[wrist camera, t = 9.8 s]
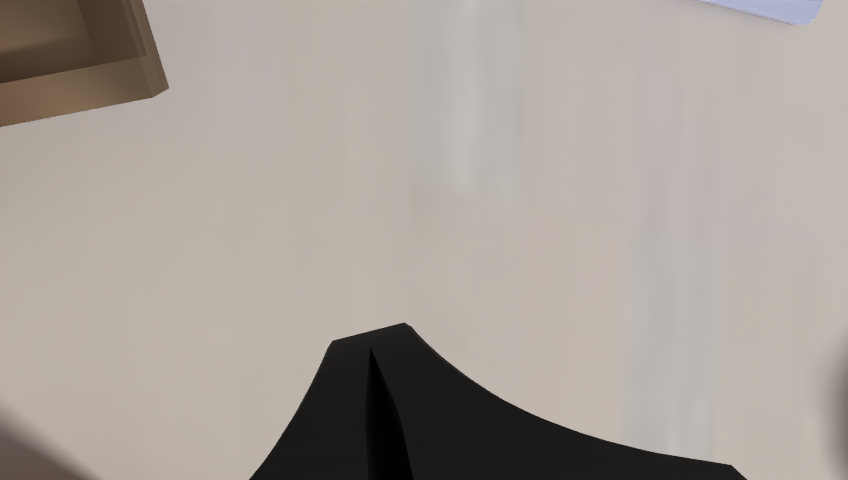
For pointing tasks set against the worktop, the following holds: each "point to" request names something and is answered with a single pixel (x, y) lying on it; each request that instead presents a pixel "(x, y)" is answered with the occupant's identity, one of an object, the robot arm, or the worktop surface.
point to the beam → (74, 57)
